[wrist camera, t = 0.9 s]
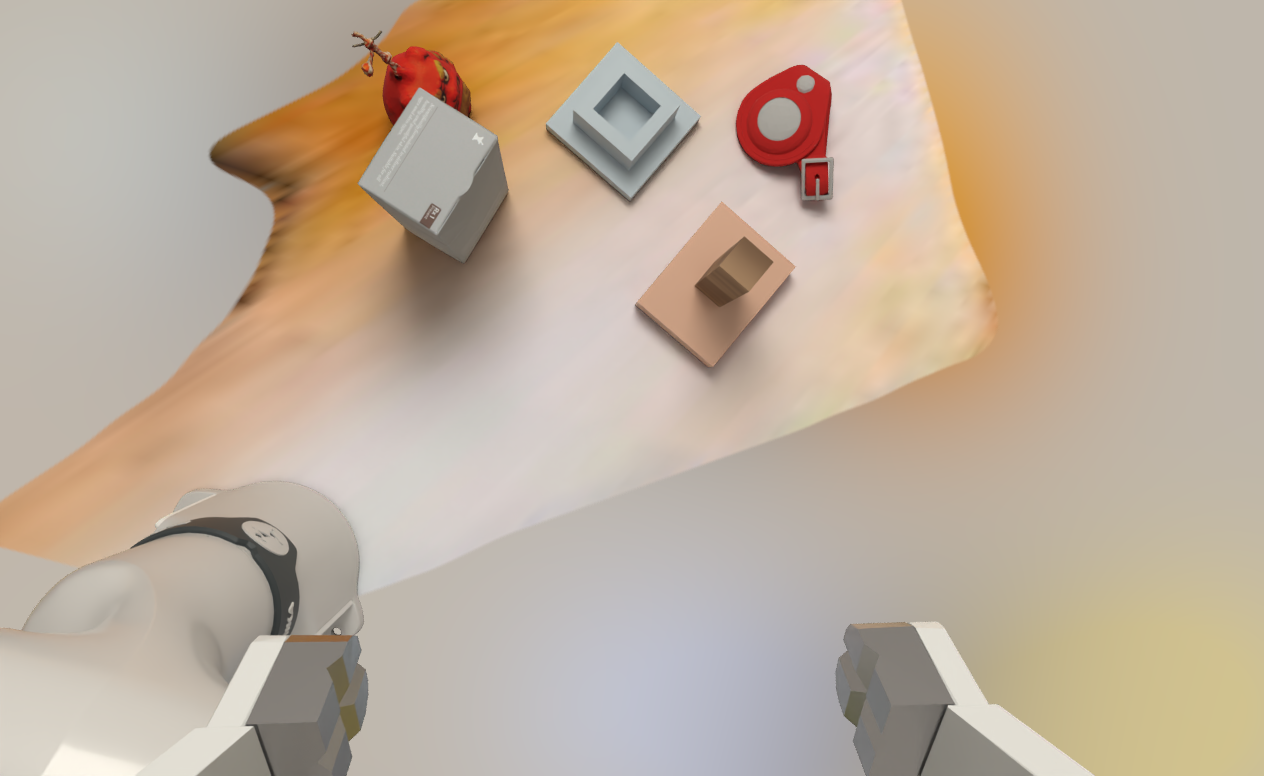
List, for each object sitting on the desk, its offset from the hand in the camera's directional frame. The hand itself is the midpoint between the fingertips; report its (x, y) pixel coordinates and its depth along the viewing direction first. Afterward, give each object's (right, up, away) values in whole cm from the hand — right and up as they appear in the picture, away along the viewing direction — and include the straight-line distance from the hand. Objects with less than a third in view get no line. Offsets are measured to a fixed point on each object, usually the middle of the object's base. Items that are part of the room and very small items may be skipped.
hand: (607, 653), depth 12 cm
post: (+8, +14, +51) cm, 54 cm away
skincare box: (-15, +20, +51) cm, 57 cm away
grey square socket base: (0, +29, +52) cm, 60 cm away
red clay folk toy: (-17, +29, +51) cm, 61 cm away
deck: (+8, +14, +53) cm, 55 cm away
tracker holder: (+15, +28, +55) cm, 63 cm away
